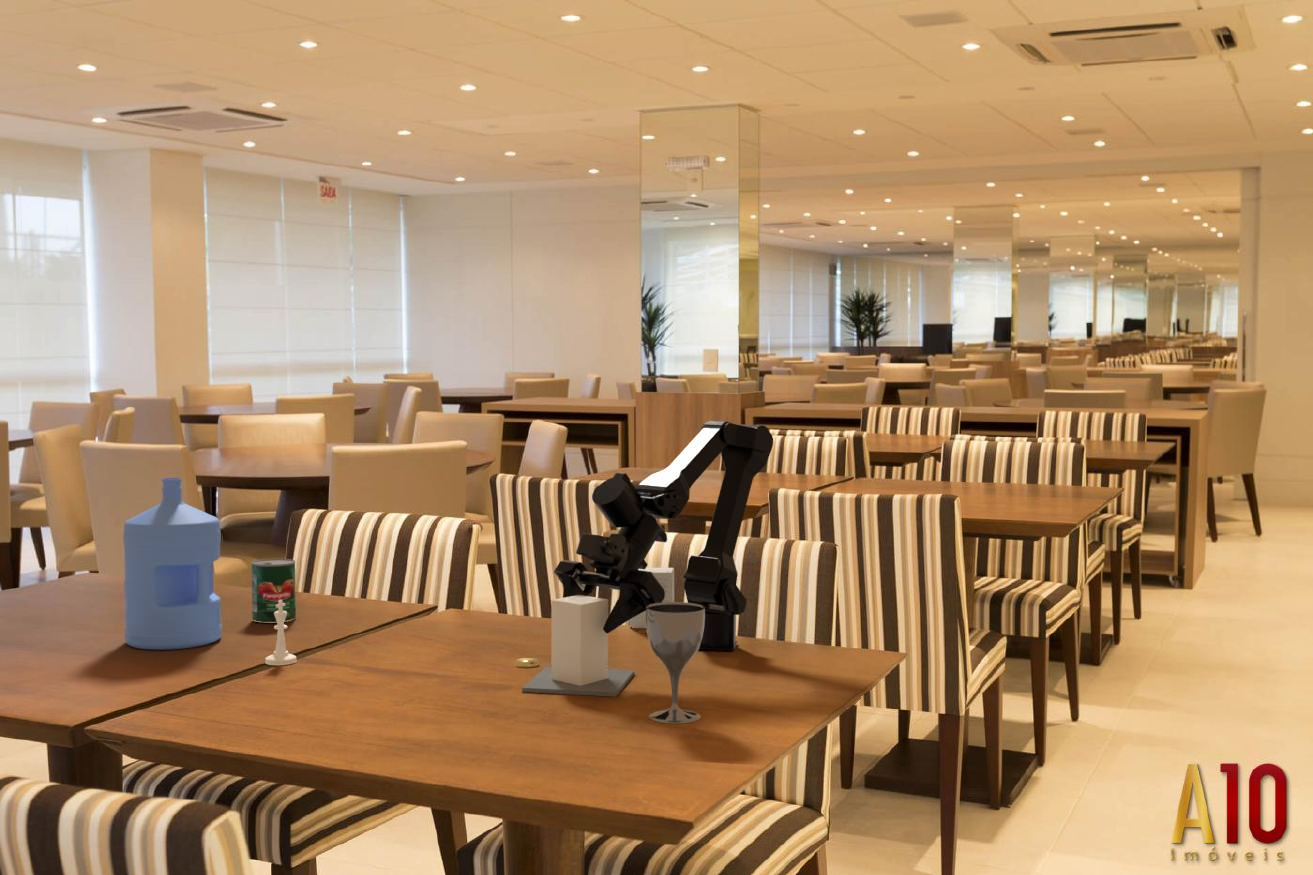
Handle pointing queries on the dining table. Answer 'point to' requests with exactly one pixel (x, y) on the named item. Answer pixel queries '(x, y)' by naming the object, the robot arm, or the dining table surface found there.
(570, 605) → the white rectangular block
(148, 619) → the water jug
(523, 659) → the brass button
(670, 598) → the small box
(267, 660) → the chess piece
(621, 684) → the slate mat
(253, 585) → the canned tomato
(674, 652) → the wine glass
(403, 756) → the dining table surface
